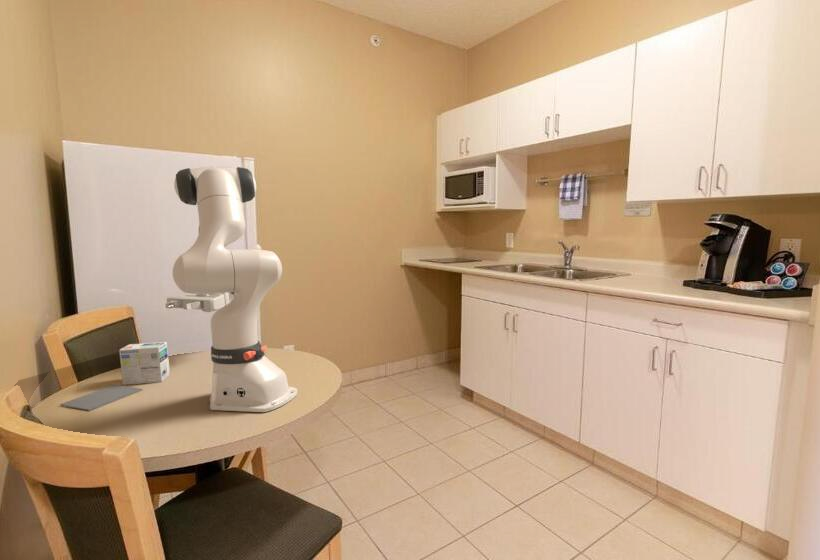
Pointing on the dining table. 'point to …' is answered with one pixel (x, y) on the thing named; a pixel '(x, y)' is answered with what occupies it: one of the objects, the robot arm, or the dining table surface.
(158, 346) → the light bulb box
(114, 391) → the mat
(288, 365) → the dining table surface
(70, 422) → the dining table surface
